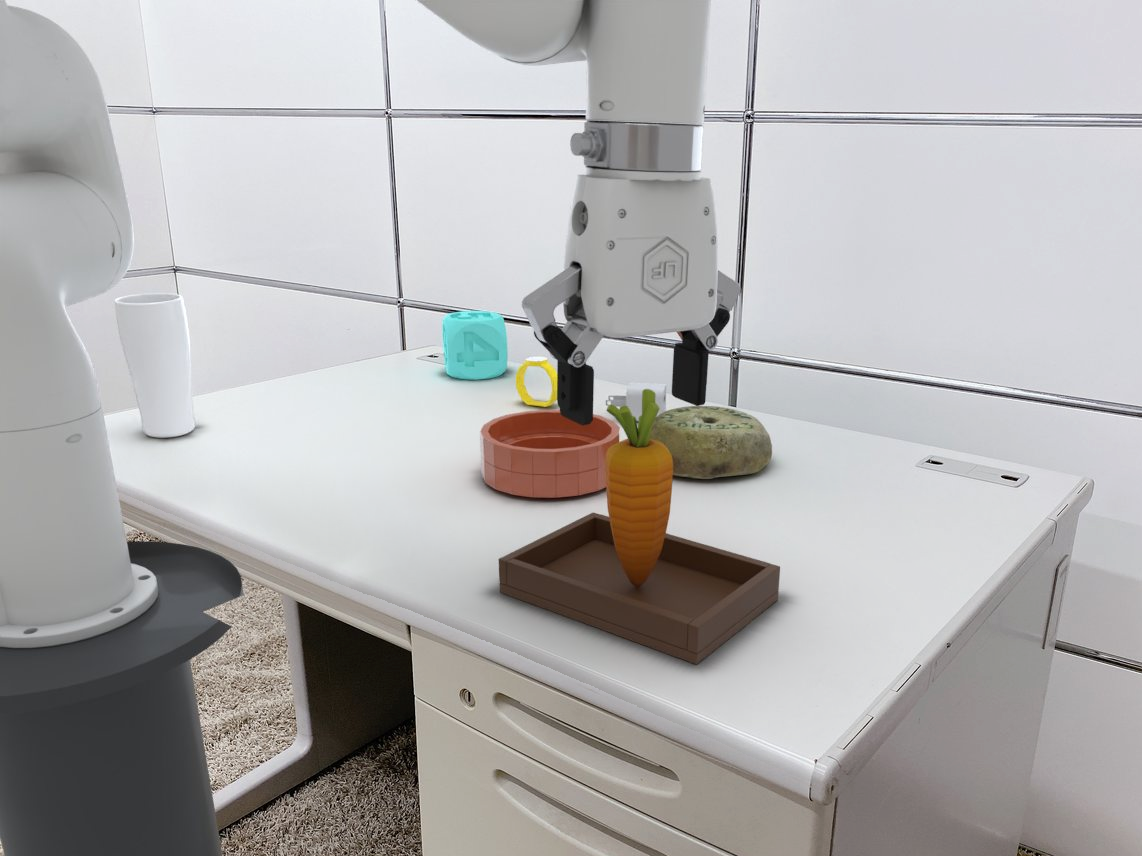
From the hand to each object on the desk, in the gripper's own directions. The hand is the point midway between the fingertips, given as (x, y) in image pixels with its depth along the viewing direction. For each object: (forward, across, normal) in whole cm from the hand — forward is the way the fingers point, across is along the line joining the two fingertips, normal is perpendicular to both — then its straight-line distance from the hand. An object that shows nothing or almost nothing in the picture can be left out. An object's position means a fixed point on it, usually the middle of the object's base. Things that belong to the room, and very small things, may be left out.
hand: (634, 410), depth 69 cm
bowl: (+15, +9, +26) cm, 31 cm away
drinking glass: (+16, -19, +62) cm, 66 cm away
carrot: (+14, +1, 0) cm, 14 cm away
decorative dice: (+15, +22, +68) cm, 73 cm away
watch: (+15, +21, +48) cm, 55 cm away
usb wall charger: (+15, +28, +38) cm, 49 cm away
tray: (+15, +1, 0) cm, 15 cm away
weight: (+15, +25, +20) cm, 35 cm away
